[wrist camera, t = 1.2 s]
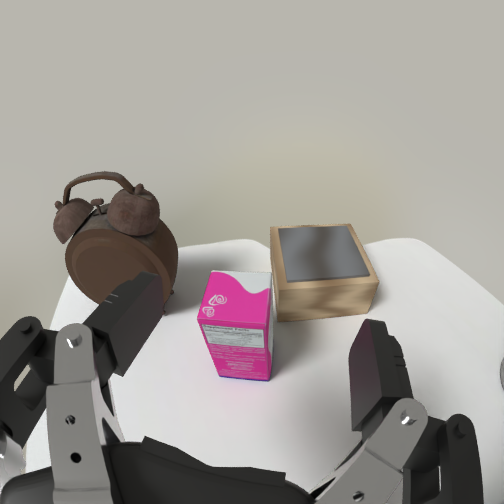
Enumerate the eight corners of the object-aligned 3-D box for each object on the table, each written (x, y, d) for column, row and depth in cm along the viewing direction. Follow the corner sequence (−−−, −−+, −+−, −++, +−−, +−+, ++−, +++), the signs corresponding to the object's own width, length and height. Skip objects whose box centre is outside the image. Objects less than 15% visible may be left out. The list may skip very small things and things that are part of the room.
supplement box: (225, 335, 33) (211, 267, 25) (274, 339, 32) (276, 270, 25) (216, 377, 28) (194, 317, 21) (269, 383, 28) (271, 324, 20)
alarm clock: (192, 283, 40) (161, 150, 27) (185, 323, 34) (140, 178, 22) (107, 284, 40) (58, 171, 27) (92, 320, 35) (27, 200, 22)
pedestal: (344, 254, 43) (350, 221, 39) (367, 313, 34) (380, 279, 30) (270, 258, 43) (270, 224, 39) (277, 322, 34) (279, 287, 30)
